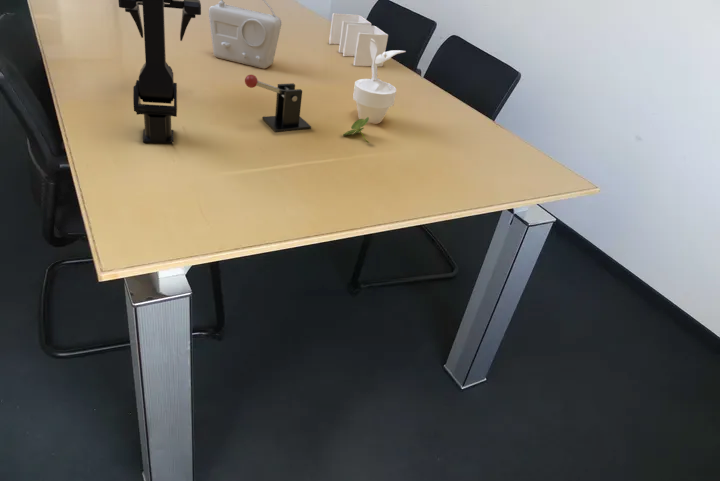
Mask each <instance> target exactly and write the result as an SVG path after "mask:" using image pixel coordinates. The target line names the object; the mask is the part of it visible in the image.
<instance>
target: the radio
mask: <svg viewBox="0 0 720 481" xmlns="http://www.w3.org/2000/svg"><path fill="white" fill-rule="evenodd" d="M262 2H264V3H265V5H266V6H267V7H268V8H269V9H270V12H271V13H272V14H270V13H265V12H261V11H257V10H252V9H248V8H244V7H238V6H234V5H230V4H226V2H225V1H224V0H219V1H218V3H217V4H214V5H211V6H209V9H208V19H209V27H210V36H211V44H212V53H213V56H214V57H216V58H217V59H221V60H226V61H229V62H233V63H237V64H242V65H246V66H249V67H250V66H251V67H253V68H254V67H255V68H259V69H267V68H269V67H270V66H271V65H272V64H274V61H275V55H276V51H277V48H278V43H279V37H280V32H281V29H282V19H281V18H280V17H279V16H277V15H276V14H275V12H274V10H273V8H272V7H271V5H270V4H269V2H267V1H266V0H262Z"/></svg>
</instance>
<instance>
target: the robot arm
mask: <svg viewBox="0 0 720 481" xmlns="http://www.w3.org/2000/svg"><path fill="white" fill-rule="evenodd" d="M140 6H142V18H141V11H140ZM118 8H120V9H124V12H125V13H129V14H130V16H131V17H132V19H133V21H134V23H135V26H136V28H137V30H138V33H139V35H140V38H141V39H144V56H145V59H144V60H145V62H144V64H143V65H142V67H141V69H140V71H139V75H138V79H136V82H135V84H134V86H133V87H132V90H133V92H132V94H133V95H132V96H133V100H132V102H133V112H135V113H136V116H137V115H143V123H144V128H143V130H142V132H143V133H142V143H144V144H145V143H146V144H173V143H174V130H173V129H172V117H175V118H176V117H178V115H177V114H178V83H177V82H174V79H175V78H174V72H173V68H172V67H171V66H170V65H169V63H168V62H167V60H166V59H167V58H166V31H165V30H166V29H165V27H166V26H165V25H166V24H165V8H168V9H178V10H179V9H180V10H182V11H181V12H182V13H181V22H180V32H179V40H180V42H183V39H184V36H185V33H186V30H187V27H188V26H189V24H190V22H191V20H192V19H195V18H196V16H201V15H202V3H201V0H118ZM142 19H143V20H142ZM142 21H143V23H142ZM141 101H142V102H143V103H142V102H141ZM147 103H149V104H147ZM151 103H153V104H151ZM172 103H173V105H172ZM163 104H168V105H163Z"/></svg>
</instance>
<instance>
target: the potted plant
mask: <svg viewBox="0 0 720 481" xmlns="http://www.w3.org/2000/svg"><path fill="white" fill-rule="evenodd" d="M370 40H371V42H370V53H371V57H372V61H373V63H372V66H371V78H359V79H357V80H355V81H354V85H353V86H354V88H353V94H352V99H353V101H355V104H356V110H357V118H358V120H359V119H364V120H365V119H366V118H367V117H369V120H368V122H367V123H366V124H374V125H375V124H376V125H377V124H380V123H381V122H383V119H384V118H385V116H386V114H387V112H388V111H389V110H390V108H391V107H393V106H394V105H395V100H396V95H397V87H395V86H394V85H392V83H389V82H386V81H384V80H381V79H380V78H378V76H379V75H378V66H377V64H381V63H383V64H384V63H385V62H388V61H389V60H390V59H391V58H392V57H394V56H396V55H399V54H403V53H406V52H407V51H406V50H399V49H397V50H396V49H395V50H393V49H392V50H387V51H385V52H384V53H383V52H381V53H380V55H378V56H377V53H378V46H377V44H376V42H375V40H373V39H370ZM380 41H381V42H382V43H383V47H384V44H385V42H386V41H387V42H388V41H389V40H388V39H387V40H386V38H385V35H384V38H383V39H382V40H380Z"/></svg>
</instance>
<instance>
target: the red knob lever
mask: <svg viewBox="0 0 720 481" xmlns="http://www.w3.org/2000/svg"><path fill="white" fill-rule="evenodd" d="M244 84H245V85H246V87H248V88H251V89H252V88H253V89H254V88H255V87H259V88H263V89H264V90H268V91H270V92H271V91H272V92H273V93H276V94H277V93H280V94H282V95H281V96H282V97H283V98H284V93H285V90H293V89H290V88H287V87H284V90H283V89H280V88H278V86H274V85H271V84H268V83H266V82H263V81H260V80H258V78H257V76H256V75H254V74H248V75H246V76H245V78H244Z"/></svg>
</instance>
